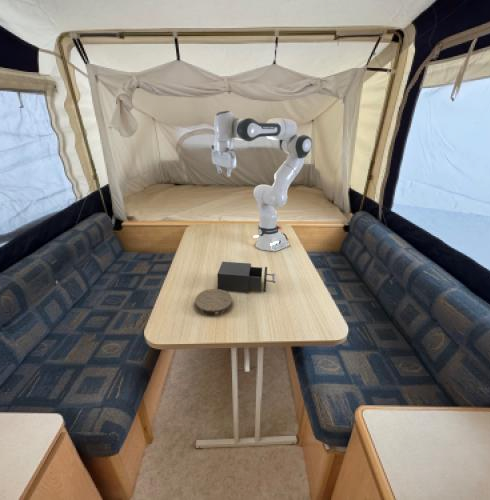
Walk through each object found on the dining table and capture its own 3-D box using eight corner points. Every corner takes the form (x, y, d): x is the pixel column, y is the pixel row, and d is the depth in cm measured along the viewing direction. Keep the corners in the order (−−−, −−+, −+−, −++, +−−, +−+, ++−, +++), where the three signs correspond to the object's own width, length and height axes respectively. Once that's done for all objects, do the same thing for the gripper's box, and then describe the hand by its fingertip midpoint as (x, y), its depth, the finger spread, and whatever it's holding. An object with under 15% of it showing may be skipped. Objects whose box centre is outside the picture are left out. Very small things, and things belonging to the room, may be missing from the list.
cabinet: (250, 279, 137) (251, 263, 133) (248, 292, 125) (248, 276, 121) (222, 276, 138) (222, 261, 134) (217, 290, 127) (217, 273, 123)
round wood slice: (235, 296, 122) (235, 291, 121) (226, 319, 108) (226, 313, 107) (202, 292, 125) (202, 286, 124) (189, 313, 111) (189, 307, 110)
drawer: (274, 280, 134) (275, 267, 131) (274, 292, 124) (275, 279, 121) (240, 277, 136) (240, 264, 133) (237, 289, 126) (237, 276, 123)
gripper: (239, 148, 127) (239, 177, 134) (219, 145, 143) (220, 171, 149) (228, 149, 125) (228, 179, 131) (209, 145, 140) (210, 172, 146)
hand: (224, 175), depth 140 cm, fingers open, 8 cm apart
